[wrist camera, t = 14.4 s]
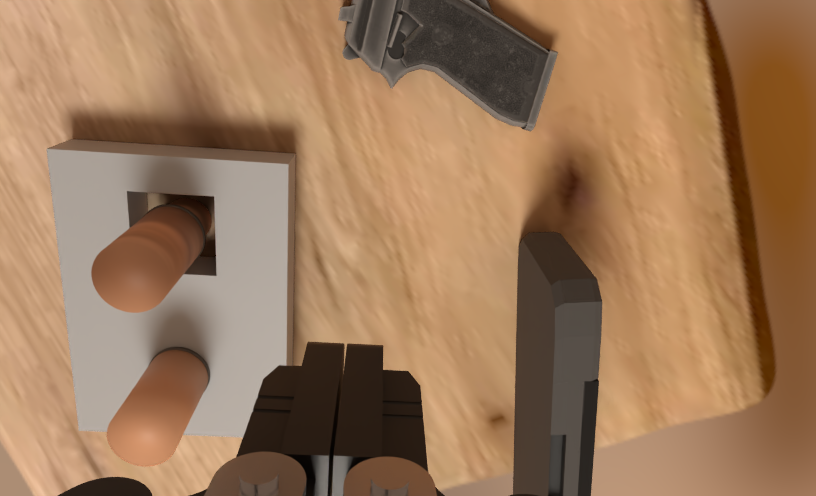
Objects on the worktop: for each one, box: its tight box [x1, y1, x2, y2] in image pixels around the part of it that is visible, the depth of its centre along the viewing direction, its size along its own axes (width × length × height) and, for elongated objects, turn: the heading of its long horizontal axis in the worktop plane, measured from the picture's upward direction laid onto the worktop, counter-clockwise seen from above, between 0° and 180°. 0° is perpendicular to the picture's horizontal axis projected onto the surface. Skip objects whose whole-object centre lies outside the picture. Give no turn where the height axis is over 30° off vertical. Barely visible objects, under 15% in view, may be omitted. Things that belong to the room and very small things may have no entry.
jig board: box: [47, 139, 296, 466], centre depth 37 cm, size 18×13×10 cm
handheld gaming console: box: [513, 232, 602, 496], centre depth 40 cm, size 23×3×10 cm, turn 2°
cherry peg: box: [91, 198, 211, 313], centre depth 35 cm, size 4×4×10 cm
